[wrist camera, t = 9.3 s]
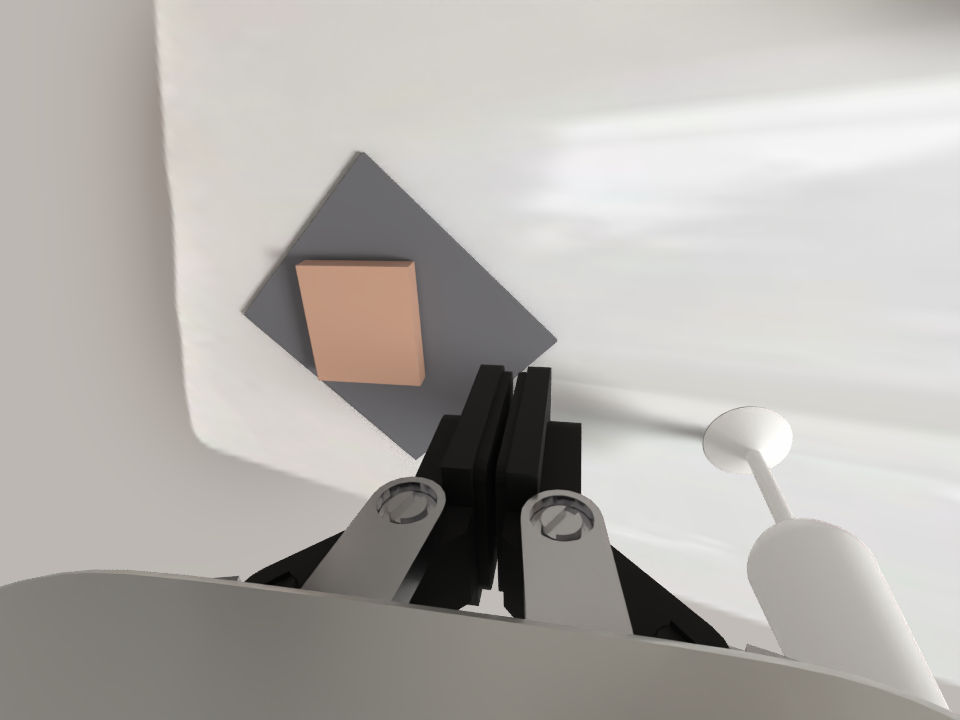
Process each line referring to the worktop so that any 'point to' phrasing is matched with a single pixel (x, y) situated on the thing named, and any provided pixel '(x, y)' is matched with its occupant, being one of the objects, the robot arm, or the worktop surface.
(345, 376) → the tile
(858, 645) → the champagne flute
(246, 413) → the worktop surface
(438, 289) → the mat
